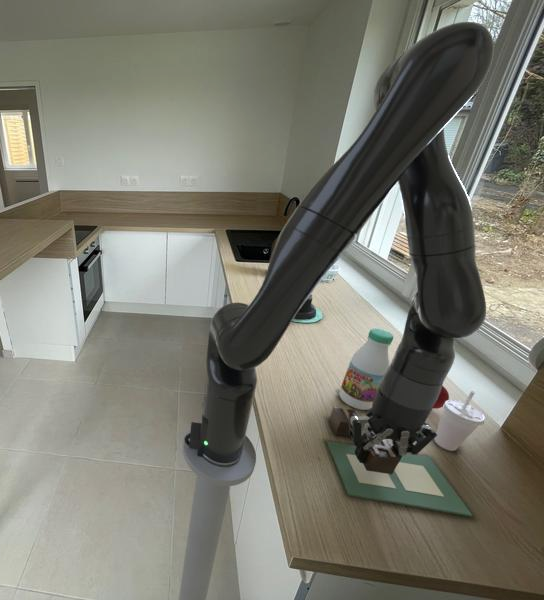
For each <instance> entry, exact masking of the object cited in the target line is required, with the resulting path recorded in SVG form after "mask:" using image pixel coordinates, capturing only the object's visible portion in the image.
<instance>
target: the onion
mask: <svg viewBox="0 0 544 600" xmlns="http://www.w3.org/2000/svg"><path fill="white" fill-rule="evenodd" d="M448 391H449V390H447V388H446V387H445V386H444V385H443V384H442V387H441V391H440V394H439V396H438V398H437V400H436V402H435V404H434V406H433V408H432V409H441V408H443V405H444V404H445V402H446V401H447V400H450V394H449V392H448Z"/></svg>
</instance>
